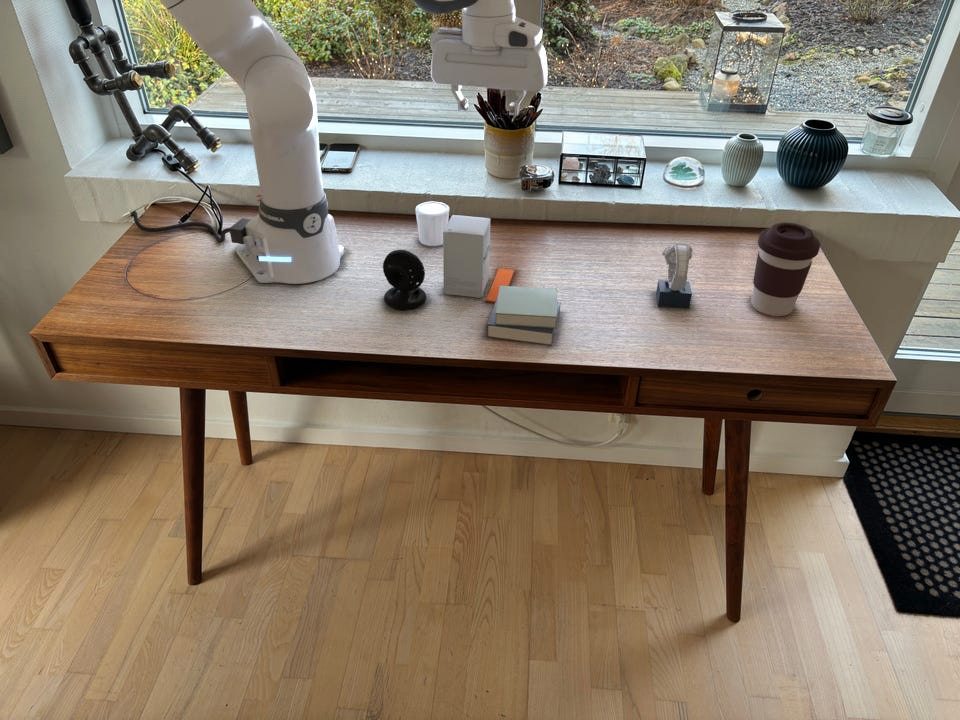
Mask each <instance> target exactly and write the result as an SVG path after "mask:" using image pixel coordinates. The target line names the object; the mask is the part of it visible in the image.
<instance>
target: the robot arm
mask: <svg viewBox="0 0 960 720" xmlns="http://www.w3.org/2000/svg"><path fill="white" fill-rule="evenodd" d="M514 1H515V0H412V2H413V3H414V5H416V6H417V7H418V8H419V9H420V10H422V11H424V12H426V13H428V14H432V15H442V14H447V13H448V14H449V13H452V12H456V11H461V27H446V26H438V27H437V28H436V29H434V30H433V31H431V33H430V37H429V40H430V49H431V51H432V54H431V62H430V63H431V64H430V78H431V79H432V81H433V82H434V84H437V85H449V86H450V91H451V93H452V94H453V97H454V99H455V100H456V101H457V110H458V111H462V112H463V111H465V112H467V111H468V109H469V98H466V97H464V95H463V93H462V91H461V89H462V88H463V87H473V88H483V89H484V88H485V89H496V90H509V91H515V97H517V99H516V101H515V102H511V103H510V104H509V105H508V110H509V111H508V114H509V116H519V114H520V107H521V105H520V104H521V103H522V101H523V100H524V98H525V97H526V94H527V92H533V93H539V92H541V91H542V90H543V89H544V88H545V87H546V85H547V83H548V61H547V60H548V59H547V54H546V49H545V47H544V45H543V44H542V43H541V40H542V37H543V29H542V27H541V26H540V25H537V24H534V23H533V22H529V21H528V20H525V19H523V18H520V17H518V16H516V4H515V2H514ZM159 2H160V3H161V4H162V5H163V7H164V8H166V11H168V12H169V14H170V15H171V16H172V17H173V18H174V20H175V21H176V22H177V23H178V24H179V25H180V27H181V28H182V29H183V30H184V31H185V32H186V34H187V35H188V36H189V37H190V39H191V40H192V41H193V42H194V43H195V44H196V45H197V47H198V48H200V50H201V52H203V53H204V54H205V55H206V56H208V57H209V58H210V59H211V60H212V61H214V63H216V64H217V65H218V66H219V67H220V68H221V69H222V70H223V71H224V72H225V73H226V74H227V75H228V76H229V78H231V79H232V80H233V82H235V83H236V85H237V86H239V88H240V89H241V91H242V93H243V95H244V98H245V99H244V100H245V106H246V112H247V117H248V124H249V129H250V135H251V143H252V147H253V153H254V158H255V166H256V171H257V178H258V185H259V189H260V194H259V195H256V198H257V200H256V202H259V206H258V213H257V215H255V216H254V217H253V218H245V217H242V218H240V219H239V220H238V221H237V222H235V223H234V224H233V225H232V226H230V227H226V228H224V229H222V230H221V231H220V234H219V233H218V232H217V230H216V229H215V227H213V226H212V225H210V224H209V223H206V222H202V221H190V222H189V221H188V222H182V223H177V224H171V225H166V226H161V227H147V226H144V225H143V224H142V223H141V222H140V220H139V216H138V211H136V210H132V211H131V213H130V217H133V221H134V224H135V226H137V228H138V229H140V231H144V232H150V233H159V232H166V231H172V230H177V229H182V228H187V227H202V228H205V229H207V230H209V231H210V232H211V233H212V235H213V236H214V238H215V239H216V241H217V242H219V243H223V242H225V240H226V234H227V233H229V235H230V241H231V243H232V244H238V245H236V247H235V253H236V254H237V256H238V257H239V259H240V260H241V262H243V264H244V265H245V266H246V268H247V269H248V270H249V272H250V273H251V274H252V276H253V277H254V278H255V280H256V281H257V282H258V283H260V284H271V283H272V284H273V283H281V284H289V285H302V284H308V283H310V284H311V283H314V282H318V281H321V280H324V279H326V278H328V277H330V276H332V275H333V274H335V273H336V272H337V271H338V270H339V268H340V266H341V258H342V257H343V255H344V254H345V247H344V246H343V245H340V244H339V240H338V234H337V229H336V224H335V220H334V217H333V216H332V215H331V214H329V202H328V199H327V194H326V193H325V191H324V185H323V177H322V167H321V158H320V140H319V124H318V123H319V122H318V109H317V100H316V99H317V98H316V93H315V90H314V87H313V84H312V82H311V78H310V77H309V74H308V72H307V71H308V70H307V69H306V66H305V64H304V62H303V61H302V59H301V58H300V57H299V55H298V54H297V53H296V52H295V51H294V49H292V47H291V46H290V45H289V44H288V42H287V41H286V40H285V38H284V37H283V36H282V35H281V34H280V33H279V32H278V30H277V29H276V28H275V27H274V25H273V24H272V23H271V22H270V21H269V20H268V18H267V17H265V15H264V14H263V13H262V12H261V11H260V9H259V8H258V7H257V6H256V5H255V3H254V2H253V0H159Z"/></svg>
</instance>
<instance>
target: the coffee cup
mask: <svg viewBox="0 0 960 720" xmlns="http://www.w3.org/2000/svg"><path fill="white" fill-rule="evenodd" d="M757 245H758V247H759V251H758V253H757V255H756V262H755V267H754V274H753V282H752V283H753V287H752V293H751V300H750V302H751V306H752V307H753V308H754V309H755V310H756V311H758V312H759V313H762V314H764V315H767V316H772V317H782V316H783V317H784V316H787V315H790V314H791V313H792V312H793V310H794V308H795V305H796V303H797V300H798V298H799V295H800V294H801V292H802V290H803V288H804V286H805V283H806V280H807V277H808V275H809V273H810V270H811V267H812V264H813V263H812V260H813V258H814V259H815V257H817V256H818V255H819V252H820V249H821V242H820V240H819V239H818V238H817V237H816V236H815V235H814V233H813V232H812V230H811V229H810V228H809V227H807V226H806V225H805V226H804V225H802V224H799V223H796V222H795V223H794V222H784V221H783V222H777V223H774V224H773V225H772V226H770V227H767V228H764V229H762V231H760V233H759V235H758V239H757Z"/></svg>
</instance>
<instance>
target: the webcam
mask: <svg viewBox="0 0 960 720" xmlns="http://www.w3.org/2000/svg"><path fill="white" fill-rule="evenodd" d="M382 272H383V275H384V277H385V279H386V281H387V283H388V284H389V285H390V286H391V288H389V289H387V291H386V292H385V293H384V296H383V301H384V303H385V304H386V305H387V307H389V308H390V309H393V310H396V311H402V312H404V311H412V310H416V309H418V308H420V307H421V306H423V305H424V304H425V303H426V301H427V294H426V292H425V290H423V289H422V288H421V287H420V286H421V285H422V284H423V283H424V281H425V278H426V277H425V276H426V271H425V267H424V264H423V262H422V260H421V259H420V257H418V256H417V254H414V253H413V252H411V251H410V250H407V249H395V250H392V251H390V252H389V253H388V254H387V255H386V256H385V258H384V260H383V261H382ZM413 295H416V296H417V298H416V299H414V300H411V301H409V300H410V298H411V297H412V296H413Z"/></svg>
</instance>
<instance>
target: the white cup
mask: <svg viewBox="0 0 960 720" xmlns="http://www.w3.org/2000/svg"><path fill="white" fill-rule="evenodd" d="M415 217H416V225H417V231H418V232H417V233H418V239H419V243H421V244H422V245H424V246H429V247H438V246H442V245H443V232H444V230H445V228H446V226H447V224H448V222H449V220H450V206H449V205H448V204H446V203H444V202H440V201H426V202H422V203H419V204H417V205H416V207H415Z"/></svg>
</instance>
